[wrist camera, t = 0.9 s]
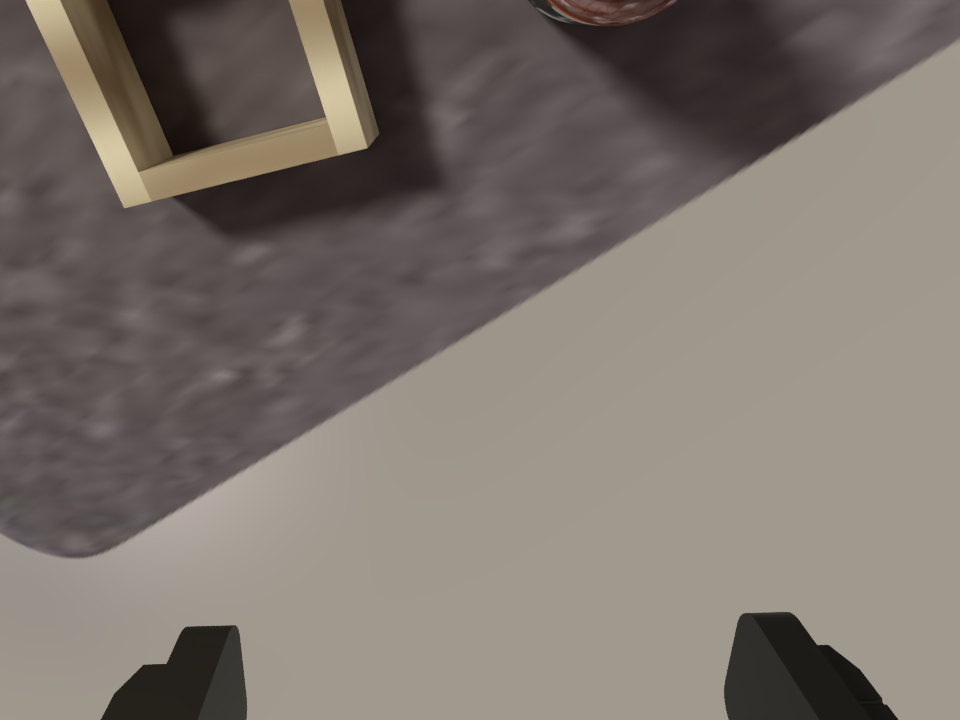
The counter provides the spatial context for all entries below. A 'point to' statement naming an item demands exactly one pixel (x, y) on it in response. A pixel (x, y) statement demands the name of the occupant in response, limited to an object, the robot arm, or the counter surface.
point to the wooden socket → (158, 174)
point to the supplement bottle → (601, 10)
